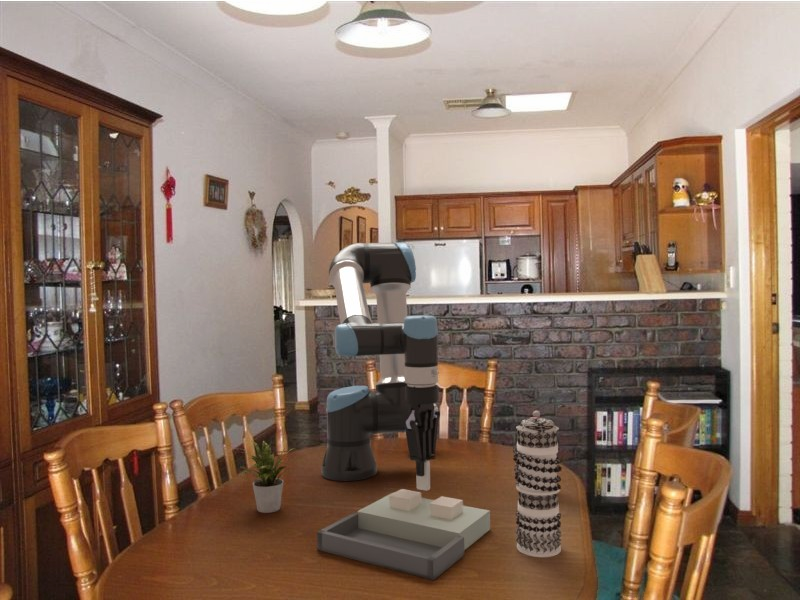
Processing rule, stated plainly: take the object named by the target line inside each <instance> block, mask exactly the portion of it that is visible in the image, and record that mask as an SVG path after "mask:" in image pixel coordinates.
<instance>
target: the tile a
mask: <svg viewBox="0 0 800 600" xmlns="http://www.w3.org/2000/svg"><path fill="white" fill-rule="evenodd" d="M392 493H393V492H392ZM390 494H391V493H390ZM388 495H389V494H388ZM421 498H422V492H421V491H414V490H409V489H405V488H400V489H399V490H397V491H395V492H394V493H393V494H391V495H389V507H392V508H397V509H401V510H406V511H410V510H412V509H414V508H416V507H417V506H419V505H421Z"/></svg>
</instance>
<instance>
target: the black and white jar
mask: <svg viewBox="0 0 800 600" xmlns="http://www.w3.org/2000/svg"><path fill="white" fill-rule="evenodd" d="M533 417H534V416H533ZM515 428H516V429H517V433H516V434H517V441H516V446H515V447H514V446H513V450H512V453H513V458H512V459H513V461H514V463H515V465H514V468H513V469H514V472H515V473H514V479H515V480H516V482H515V489H516V490H517V492H518V495H517V496H518V500H517V510H516V511H515V512H516V513H515V517H516V516H517V518H516V519H515V520H516V521H515V524H516V525H517V527H516V530H515V533H516V538H515V541H516V542H517V543H516V549H517V550H518V551H519V552H520V554H521V553H522V554H523V555H525V556H529V557H532V558H551V557H554V556H557V555H559V554H560V553H562V549H561V548H562V547H561V545H562V539H561V537H562V530H560V528H561V526H562V522H561V521H560V520H561V517H562V514H561V513H560V505H559V504H560V503H559V492H561V489H562V486H561V485H560V484H559V483H560V482H561V481H562V478H561V476H559V475H558V474H559V472H561V471H562V469H563V468H562V467H561V466H560V465H559V464H561V463H562V462H563V461H562V458H560V456H557V454H558V452H559V451H560V447H559V443H558V431H559V430H560V428H559V426H556V425H555V423H554V422H553V420H551V419H549V418H546V417H542V418H538V417H534V418H531V417H528V418H527V417H526V418H525V419H522V420H521V422H520V424H519V425H516V427H515Z"/></svg>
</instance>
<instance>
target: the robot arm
mask: <svg viewBox="0 0 800 600" xmlns="http://www.w3.org/2000/svg"><path fill="white" fill-rule="evenodd" d="M416 270H417V266H416V259H415V256H414V253H413V250H412V248H411V246H410V245H408V244H407V243H404V242H395V241H391V242H357V243H356V242H355V243H351V244H349V245H347V246H345V247H344V248H342V249H341V250H339V251H338V252H337V253H336V254H335V256H334V257H333V258H332V259H331V262H330V264H329V268H328V278H329V281H330V284H331V285H332V286H333V287H334V291H335V298H336V304H337V310H338V317H339V323H340V324H337V325H336V326H335V327H334V331H333V332H334V333H333V334H334V351H335V353H336V355H338V356H343V357H347V356H348V357H360V356H361V357H362V356H378V357H379V370H380V371H379V372H380V375H379V376H380V378H379V379H378V380H377V381H376V383H375V390H370V388H369V387H368V386H367V385H352V386H347V387H346V386H345V387H341V388H338V389H335V390H333V391H330V392H329V393H328V395H327V398H326V408H325V412H326V425H327V427H326V433H327V434H326V436H327V437H326V439H327V440H326V441H327V444H326V446H327V447H326V450H325V453H324V457H323V460H322V464H321V476H322V477H323V478H325V479H327V480H331V481H337V482H338V481H340V482H353V481H354V482H355V481H360V480H361V481H362V480H365V479H369V478H371V477H373V476H375V475H376V474H377V472H378V464H377V462H376V458H375V455H374V452H373V449H372V446H371V435H374V434H375V435H377V434H393V433H394V434H395V433H403V434H404V433H405V435H406V441H407V442H406V443H407V446H408V447H407V448H408V455H409V460H411V461H415V471H416V472H415V473H416V474H415V475H416V478H415V479H416V490H420V491H427V492H428V491H429V490H431V463H430V462H431V460H433V461H434V460H435V458H436V457H435V456H434V455H435V454H436V448H437V438H438V427H439V419H440V416H441V412H440V411H439V410H438V411H435V410H434V404H436V403H438V402H439V398H440V397H439V386H438V383H439V374H440V372H439V367H438V365H439V357H438V356H439V352H438V351H439V349H438V347H439V345H438V339H439V337H438V334H439V329H438V320H437V317H435V316H434V315H427V314H426V315H425V314H423V315H421V314H420V315H419V314H418V315H417V314H416V315H408V307H407V306H408V305H407V304H408V303H407V293H408V291H409V290H410V289H411V286H412V285H411V284H412V283H414V282H415V281H416V278H417V271H416ZM364 284H370V291H371V292H372V293H374V294H375V296H376V298H375V299H376V311H377V312H376V314H377V315H376V316H377V322H375V323H373V322H372V318H371V315H370V314H371V313H370V309H369V306H368V305H369V304H368V301H367V297H366V293H365V289H364Z"/></svg>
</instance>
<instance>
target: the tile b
mask: <svg viewBox="0 0 800 600" xmlns="http://www.w3.org/2000/svg"><path fill="white" fill-rule="evenodd" d="M434 500H435V501H433V502H431V503H430V515H431V516H436V517H441V518H446V519H451V520H452V519H454V518H455V517H456V516H458V515H459V514H461V513H462V512H463V506H464V499H459V498H454V497H448V496H443V495H441V496H439V497H438V498H436V499H434Z"/></svg>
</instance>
